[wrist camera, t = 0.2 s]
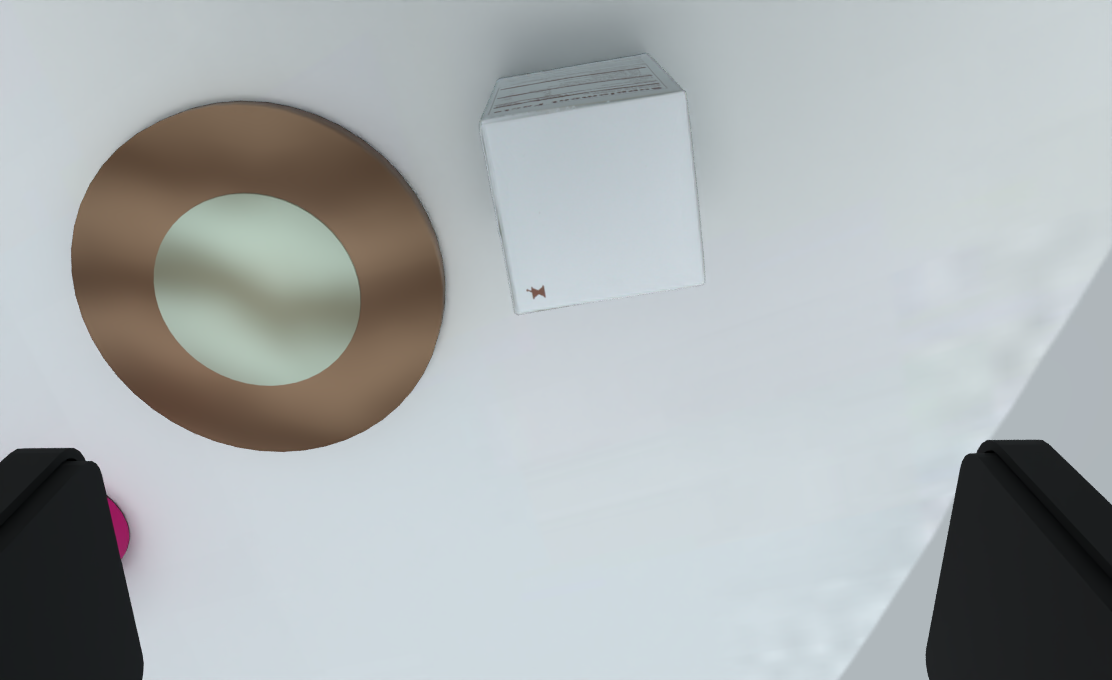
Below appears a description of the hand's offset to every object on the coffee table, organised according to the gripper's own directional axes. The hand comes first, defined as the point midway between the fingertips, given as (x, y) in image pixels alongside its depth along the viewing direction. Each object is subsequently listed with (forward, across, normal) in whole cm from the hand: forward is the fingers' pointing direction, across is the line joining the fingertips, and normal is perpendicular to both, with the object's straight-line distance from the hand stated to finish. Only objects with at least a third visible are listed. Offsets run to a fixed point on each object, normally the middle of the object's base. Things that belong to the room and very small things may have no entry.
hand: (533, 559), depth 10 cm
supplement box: (+36, -2, +2) cm, 36 cm away
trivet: (+36, +14, +9) cm, 39 cm away
